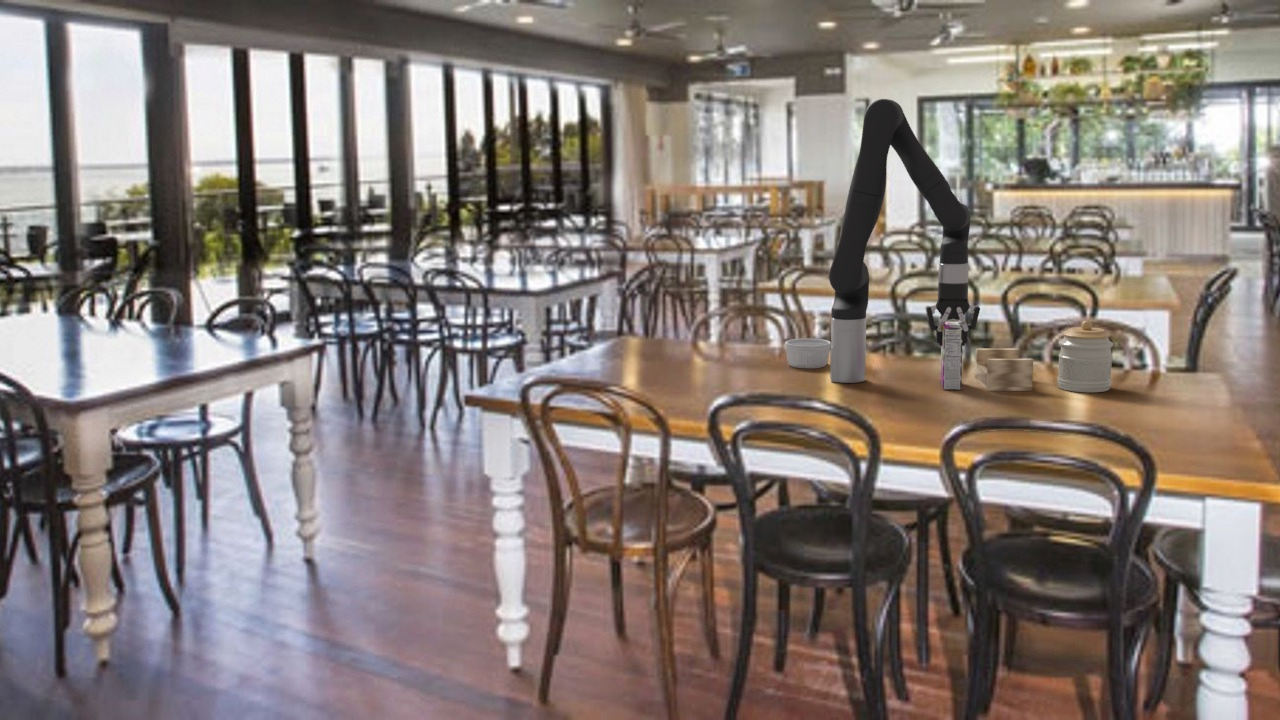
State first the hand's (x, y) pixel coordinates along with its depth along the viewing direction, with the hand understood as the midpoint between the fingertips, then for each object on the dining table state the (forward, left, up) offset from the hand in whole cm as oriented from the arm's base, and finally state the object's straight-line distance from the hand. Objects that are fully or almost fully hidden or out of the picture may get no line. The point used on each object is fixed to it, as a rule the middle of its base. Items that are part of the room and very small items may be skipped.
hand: (951, 345), depth 299 cm
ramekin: (-36, +31, -11) cm, 49 cm away
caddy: (+14, +3, -11) cm, 18 cm away
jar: (+33, -3, -11) cm, 35 cm away
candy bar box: (0, 0, -11) cm, 11 cm away
